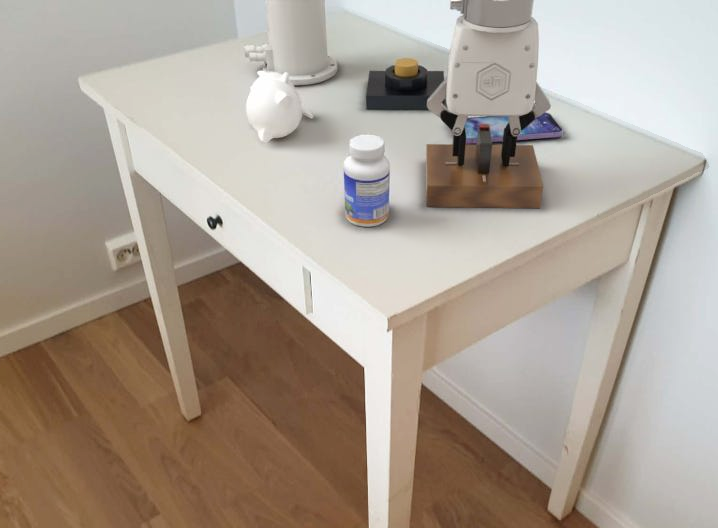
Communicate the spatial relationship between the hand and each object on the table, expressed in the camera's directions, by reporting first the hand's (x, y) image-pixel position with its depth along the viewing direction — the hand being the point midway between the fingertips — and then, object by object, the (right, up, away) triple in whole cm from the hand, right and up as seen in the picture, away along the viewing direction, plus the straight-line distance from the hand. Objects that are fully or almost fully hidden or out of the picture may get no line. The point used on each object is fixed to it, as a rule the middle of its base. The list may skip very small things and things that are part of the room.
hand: (482, 159), depth 92 cm
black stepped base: (-8, +17, +24) cm, 30 cm away
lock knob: (0, 0, 0) cm, 1 cm away
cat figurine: (-27, +9, +16) cm, 32 cm away
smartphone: (+5, +8, +14) cm, 17 cm away
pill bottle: (-15, -8, -3) cm, 17 cm away
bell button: (-9, +19, +21) cm, 30 cm away
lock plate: (0, -3, +2) cm, 4 cm away
